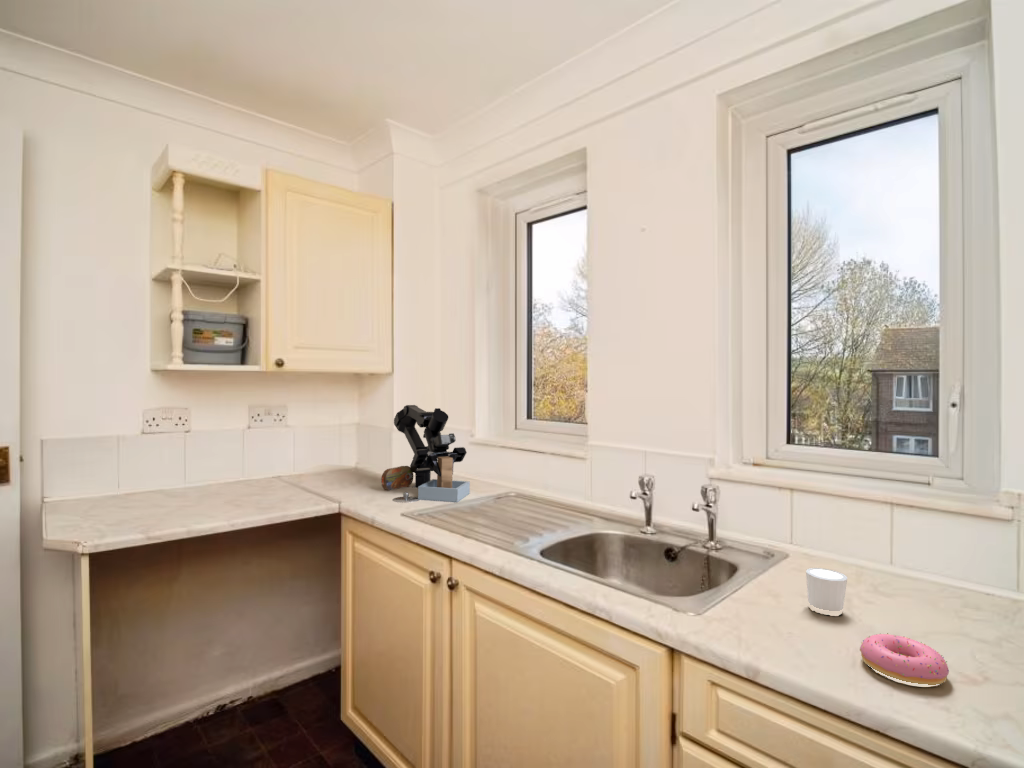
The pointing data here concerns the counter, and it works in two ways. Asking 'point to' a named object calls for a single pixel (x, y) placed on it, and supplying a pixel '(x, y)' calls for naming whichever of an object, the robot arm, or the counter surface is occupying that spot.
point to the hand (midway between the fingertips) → (446, 475)
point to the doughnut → (904, 659)
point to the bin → (444, 491)
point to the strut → (445, 472)
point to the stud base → (405, 498)
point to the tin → (397, 477)
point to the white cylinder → (826, 588)
